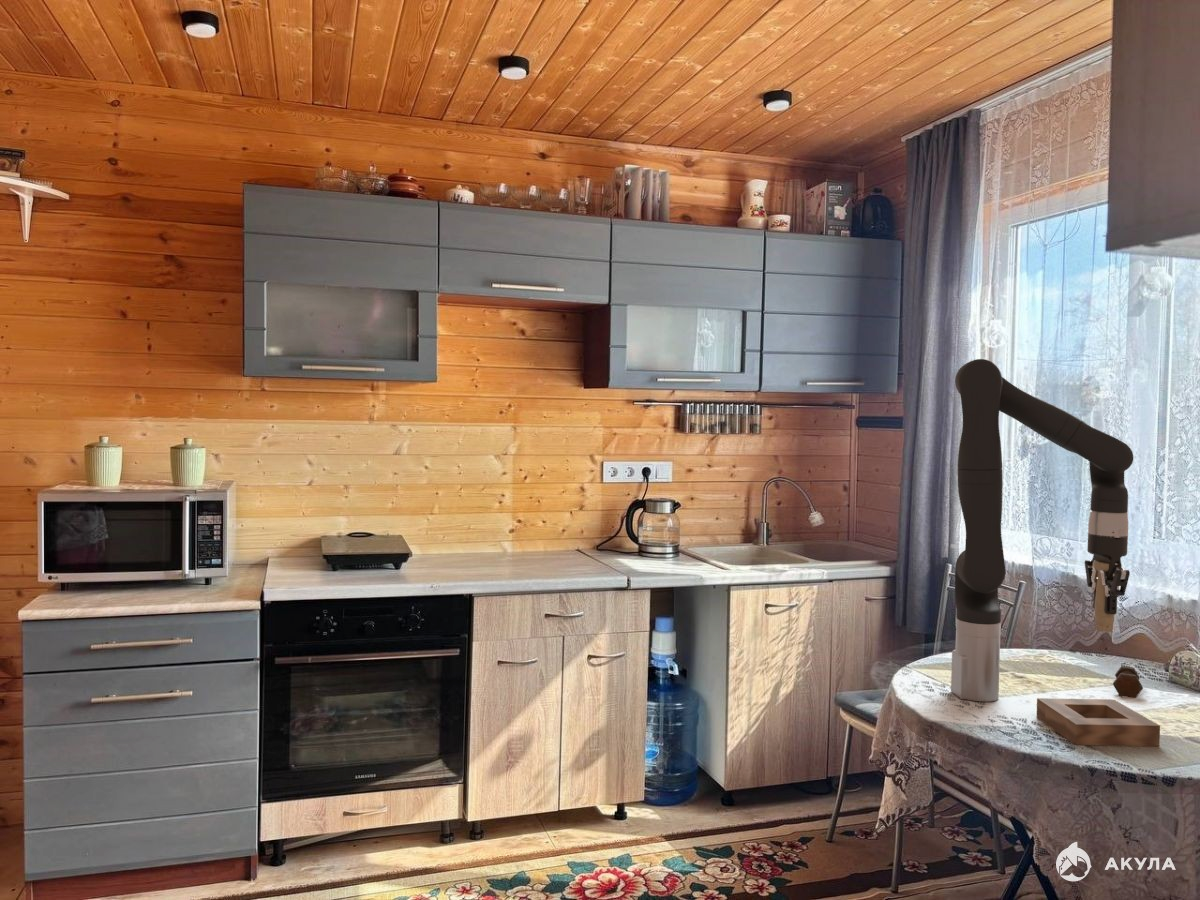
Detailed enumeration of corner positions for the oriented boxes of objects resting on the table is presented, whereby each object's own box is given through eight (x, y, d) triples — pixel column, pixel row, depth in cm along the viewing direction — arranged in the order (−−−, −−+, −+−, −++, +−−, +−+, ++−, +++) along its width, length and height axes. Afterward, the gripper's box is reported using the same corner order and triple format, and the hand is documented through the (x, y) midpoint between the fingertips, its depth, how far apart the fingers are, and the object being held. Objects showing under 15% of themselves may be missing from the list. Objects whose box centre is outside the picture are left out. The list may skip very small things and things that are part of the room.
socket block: (1075, 744, 175) (1076, 724, 175) (1036, 717, 191) (1037, 698, 191) (1159, 746, 175) (1160, 725, 175) (1113, 718, 191) (1114, 699, 191)
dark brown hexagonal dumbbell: (1130, 688, 218) (1131, 703, 205) (1109, 675, 221) (1109, 689, 207) (1144, 669, 217) (1146, 683, 204) (1124, 656, 219) (1124, 669, 206)
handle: (1092, 632, 195) (1095, 562, 195) (1090, 626, 201) (1093, 558, 200) (1118, 635, 193) (1121, 564, 193) (1115, 629, 199) (1118, 560, 198)
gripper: (1073, 528, 203) (1070, 604, 204) (1108, 536, 189) (1105, 618, 190) (1107, 528, 203) (1104, 605, 204) (1144, 537, 189) (1141, 619, 190)
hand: (1104, 611), depth 197 cm, fingers closed on handle, 4 cm apart
